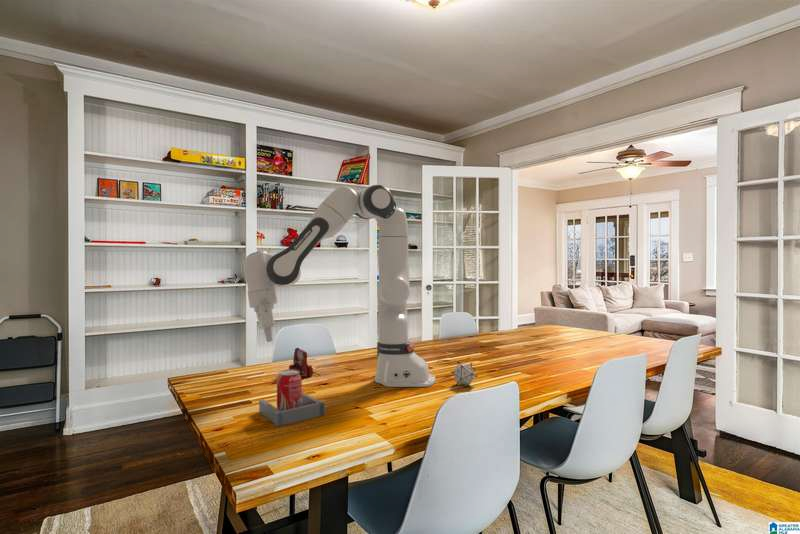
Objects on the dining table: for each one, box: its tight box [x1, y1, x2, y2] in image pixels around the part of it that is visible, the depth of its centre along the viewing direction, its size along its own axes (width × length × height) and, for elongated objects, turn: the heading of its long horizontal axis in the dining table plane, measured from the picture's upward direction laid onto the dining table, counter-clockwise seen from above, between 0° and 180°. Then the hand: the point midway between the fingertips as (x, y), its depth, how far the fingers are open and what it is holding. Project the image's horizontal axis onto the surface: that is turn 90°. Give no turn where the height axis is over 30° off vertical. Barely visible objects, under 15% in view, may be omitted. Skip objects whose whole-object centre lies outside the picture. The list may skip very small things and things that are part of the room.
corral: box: [258, 391, 326, 428], centre depth 126 cm, size 14×15×4 cm
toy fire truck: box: [288, 347, 314, 377], centre depth 168 cm, size 7×12×10 cm, turn 31°
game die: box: [450, 361, 478, 388], centre depth 153 cm, size 9×8×10 cm
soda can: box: [276, 369, 303, 411], centre depth 126 cm, size 7×7×12 cm
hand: (269, 341), depth 143 cm, fingers closed
